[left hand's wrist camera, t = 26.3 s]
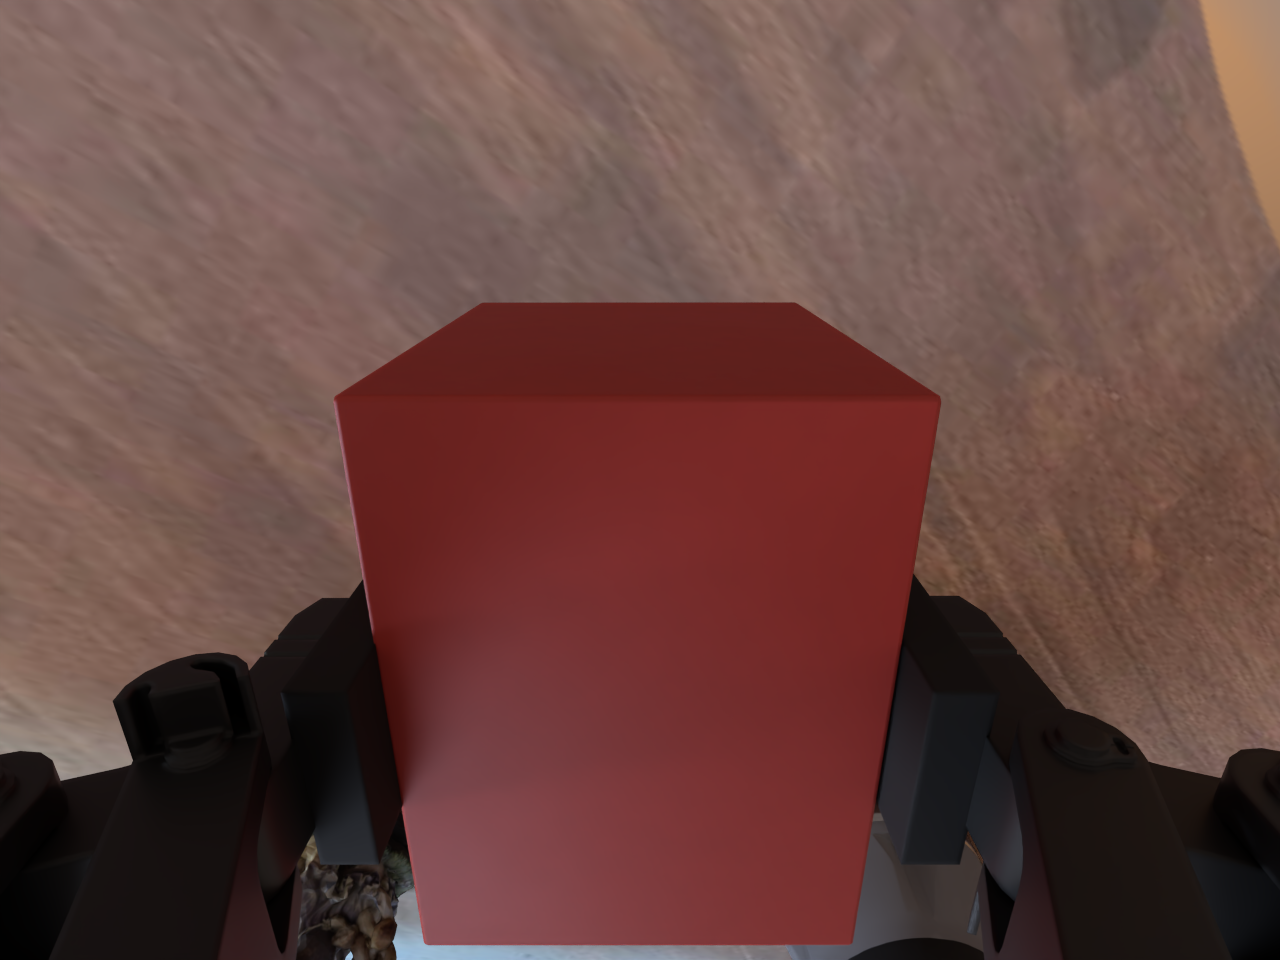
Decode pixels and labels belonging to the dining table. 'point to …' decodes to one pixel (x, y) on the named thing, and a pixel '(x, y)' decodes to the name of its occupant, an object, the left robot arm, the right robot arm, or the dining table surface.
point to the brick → (638, 615)
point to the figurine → (352, 903)
